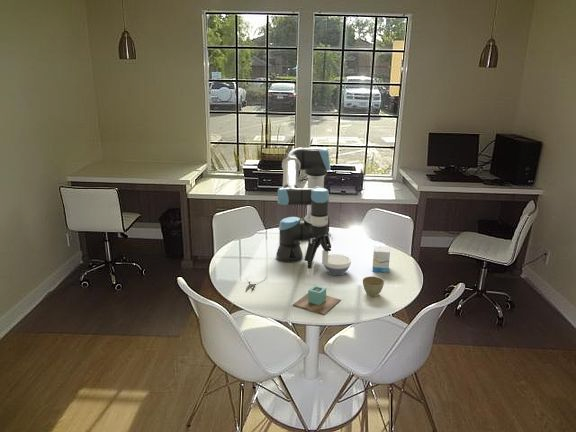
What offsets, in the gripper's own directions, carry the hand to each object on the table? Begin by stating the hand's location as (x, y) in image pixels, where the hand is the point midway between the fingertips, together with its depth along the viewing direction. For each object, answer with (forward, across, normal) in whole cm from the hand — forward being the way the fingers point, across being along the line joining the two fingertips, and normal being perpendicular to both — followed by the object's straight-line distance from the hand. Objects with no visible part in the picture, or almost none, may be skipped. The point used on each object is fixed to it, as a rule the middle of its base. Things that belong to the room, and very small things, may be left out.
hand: (317, 269), depth 201 cm
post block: (+16, 0, 0) cm, 17 cm away
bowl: (+17, +36, +8) cm, 40 cm away
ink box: (+17, +53, -10) cm, 56 cm away
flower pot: (+17, +22, -18) cm, 33 cm away
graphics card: (+17, +78, +51) cm, 95 cm away
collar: (+16, 0, 0) cm, 16 cm away
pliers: (+17, +2, +36) cm, 40 cm away
